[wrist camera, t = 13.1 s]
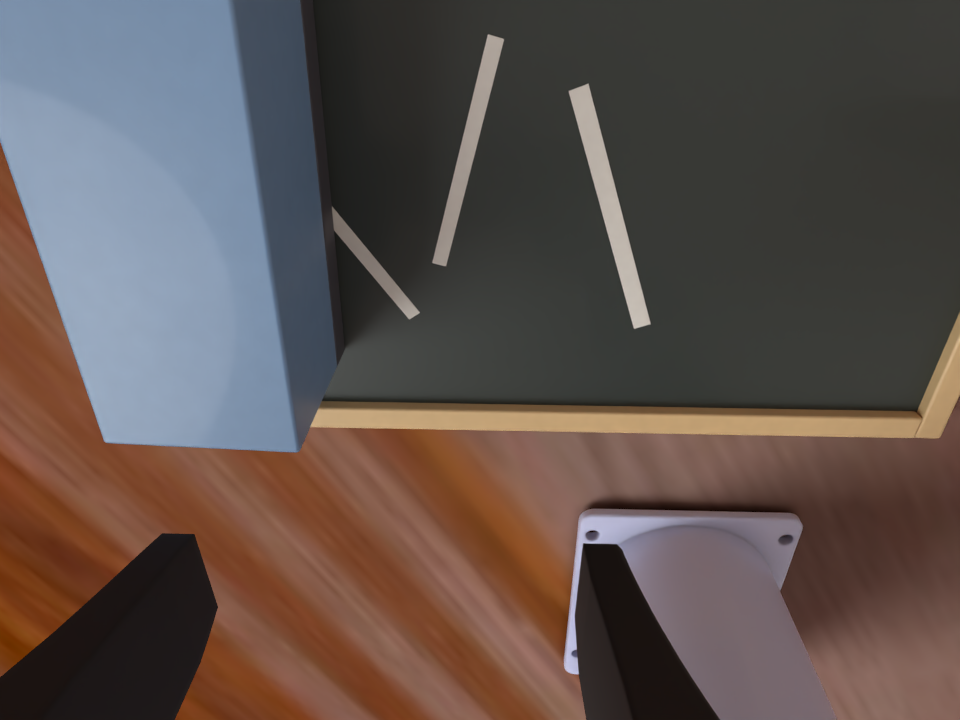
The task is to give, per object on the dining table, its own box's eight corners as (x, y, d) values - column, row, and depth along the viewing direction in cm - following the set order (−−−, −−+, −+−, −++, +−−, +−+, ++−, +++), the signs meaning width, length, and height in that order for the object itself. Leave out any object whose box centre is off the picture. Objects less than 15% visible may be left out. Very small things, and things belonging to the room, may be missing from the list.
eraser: (345, 349, 20) (299, 454, 15) (191, 342, 20) (103, 444, 16) (311, -30, 15) (228, -32, 10) (102, -37, 15) (-67, -43, 10)
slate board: (923, 420, 21) (940, 439, 20) (148, 407, 22) (133, 424, 21) (1152, -100, 14) (1194, -104, 13) (-17, -93, 15) (-49, -97, 14)
